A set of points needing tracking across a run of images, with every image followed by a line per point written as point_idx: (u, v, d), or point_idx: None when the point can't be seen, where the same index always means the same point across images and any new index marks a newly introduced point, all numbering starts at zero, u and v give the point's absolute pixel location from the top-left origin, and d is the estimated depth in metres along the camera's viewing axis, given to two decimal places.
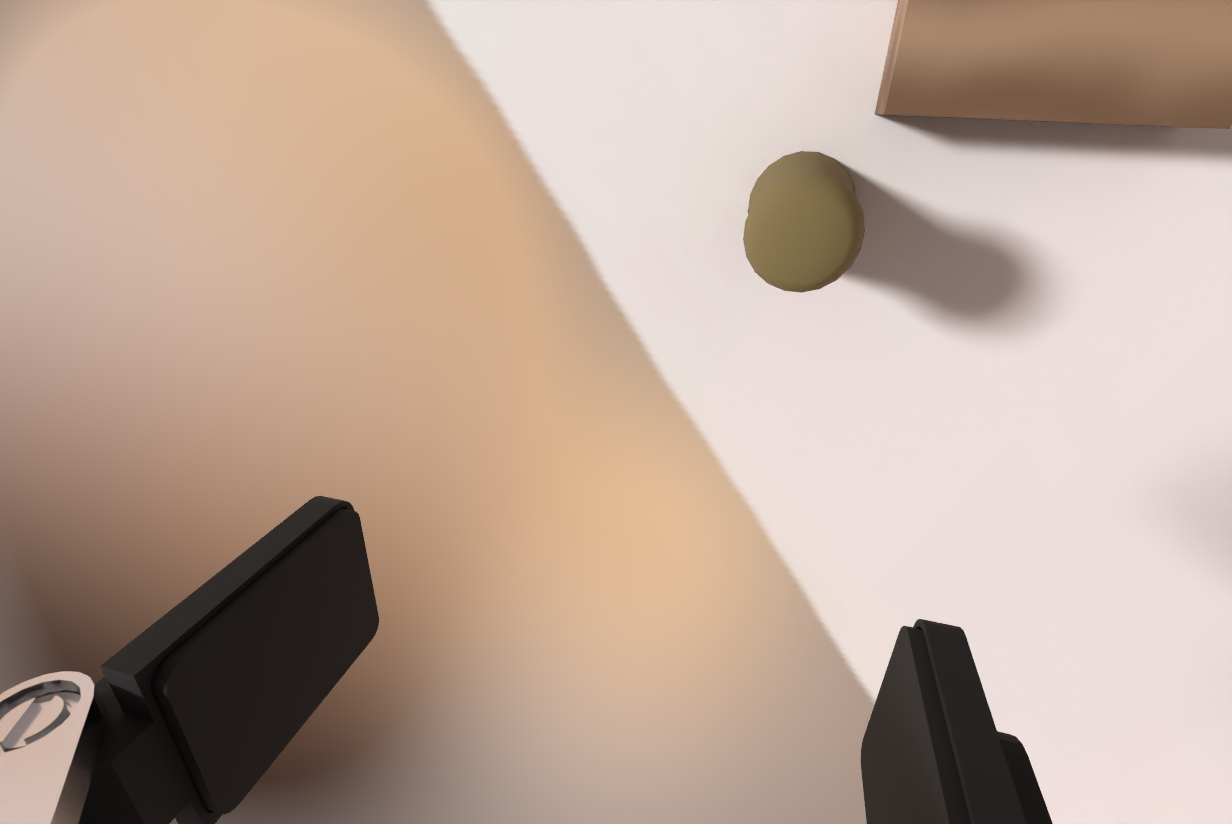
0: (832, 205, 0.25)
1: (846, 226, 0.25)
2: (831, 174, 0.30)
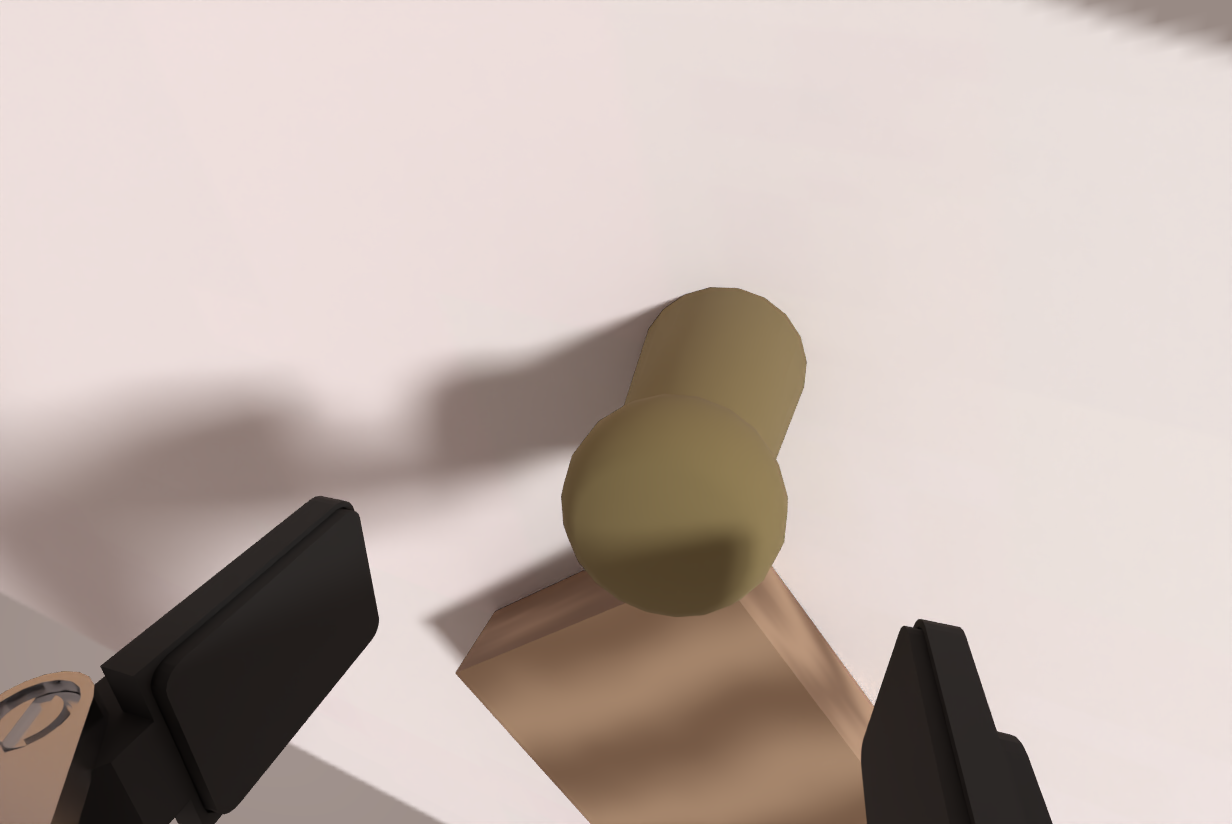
0: (663, 608, 0.14)
1: (618, 593, 0.14)
2: None
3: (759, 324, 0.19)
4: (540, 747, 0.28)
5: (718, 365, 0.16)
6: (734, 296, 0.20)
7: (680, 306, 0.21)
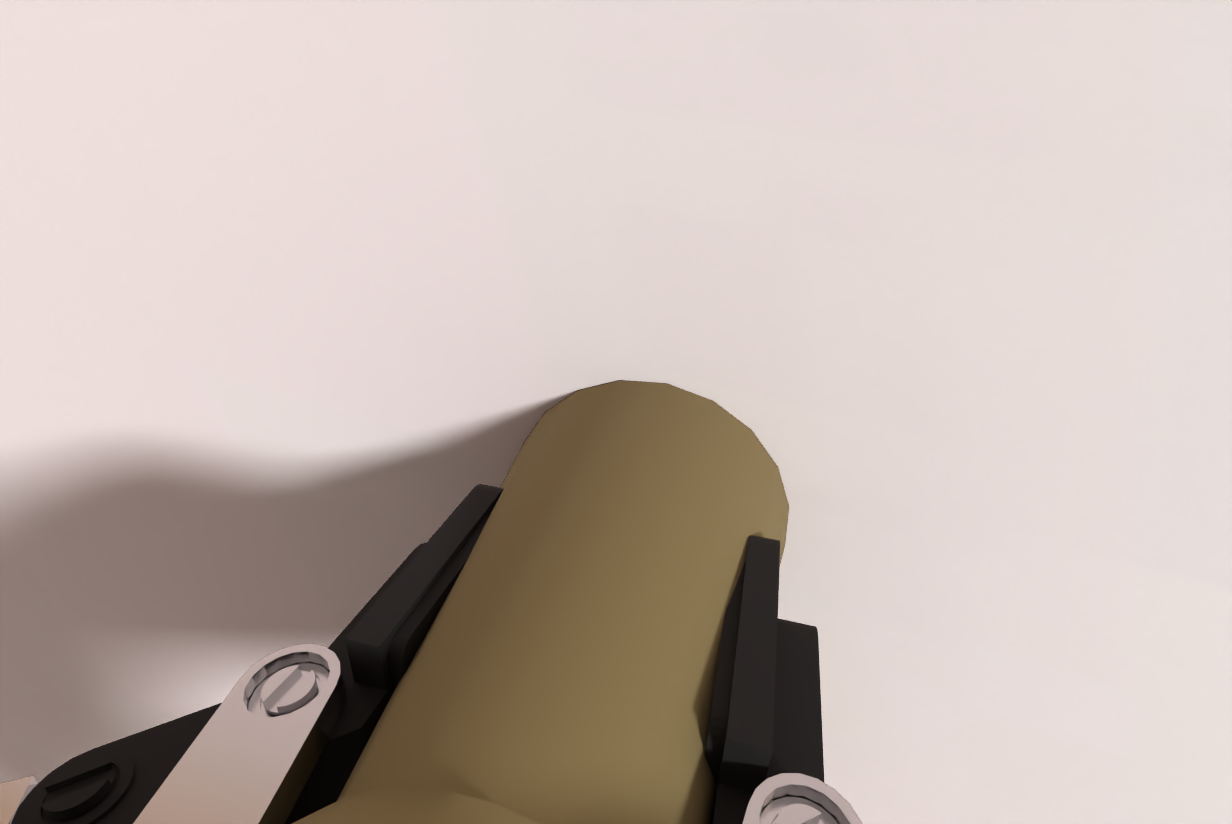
0: None
1: None
2: None
3: (697, 472, 0.10)
4: None
5: (585, 625, 0.07)
6: (657, 404, 0.11)
7: (562, 420, 0.11)
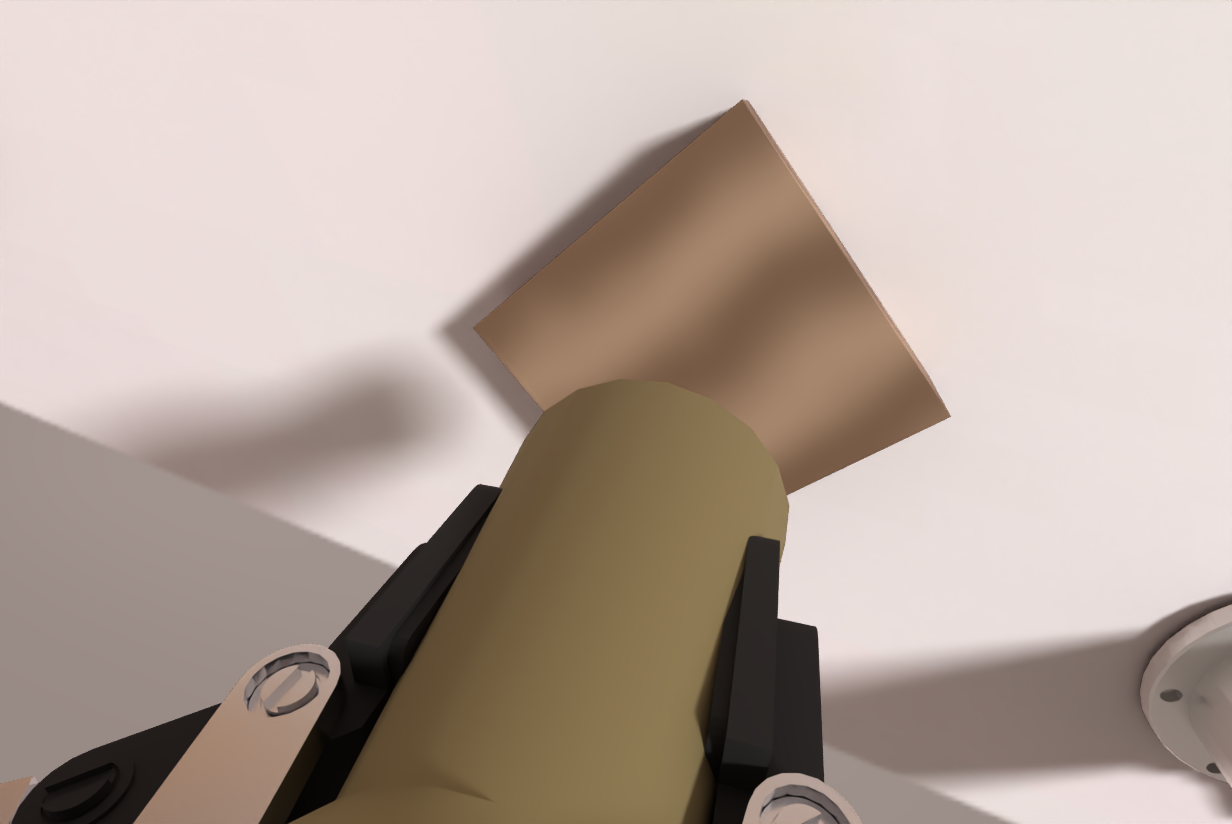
0: None
1: None
2: None
3: (696, 471, 0.10)
4: None
5: (584, 625, 0.07)
6: (657, 402, 0.11)
7: (562, 418, 0.11)
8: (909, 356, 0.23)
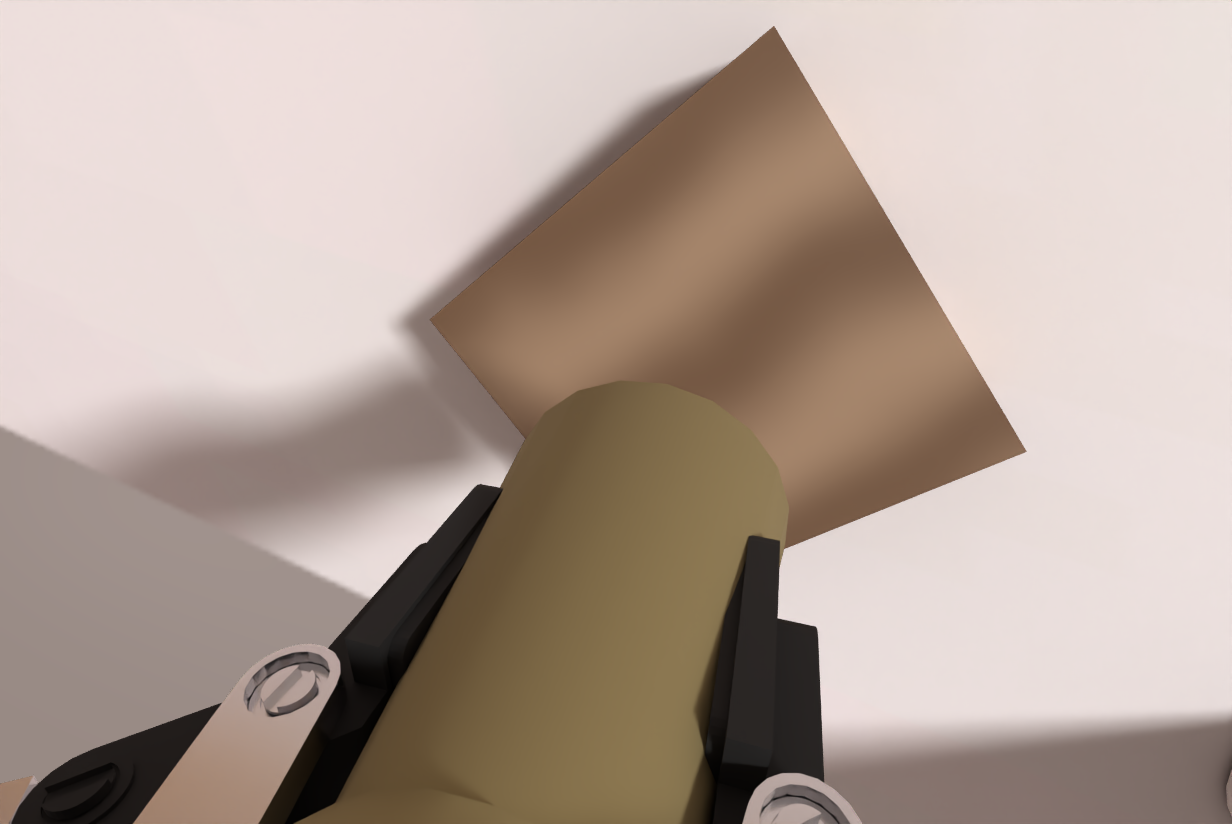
0: None
1: None
2: None
3: (696, 473, 0.10)
4: (538, 420, 0.22)
5: (585, 627, 0.07)
6: (657, 404, 0.11)
7: (562, 420, 0.11)
8: (977, 372, 0.17)
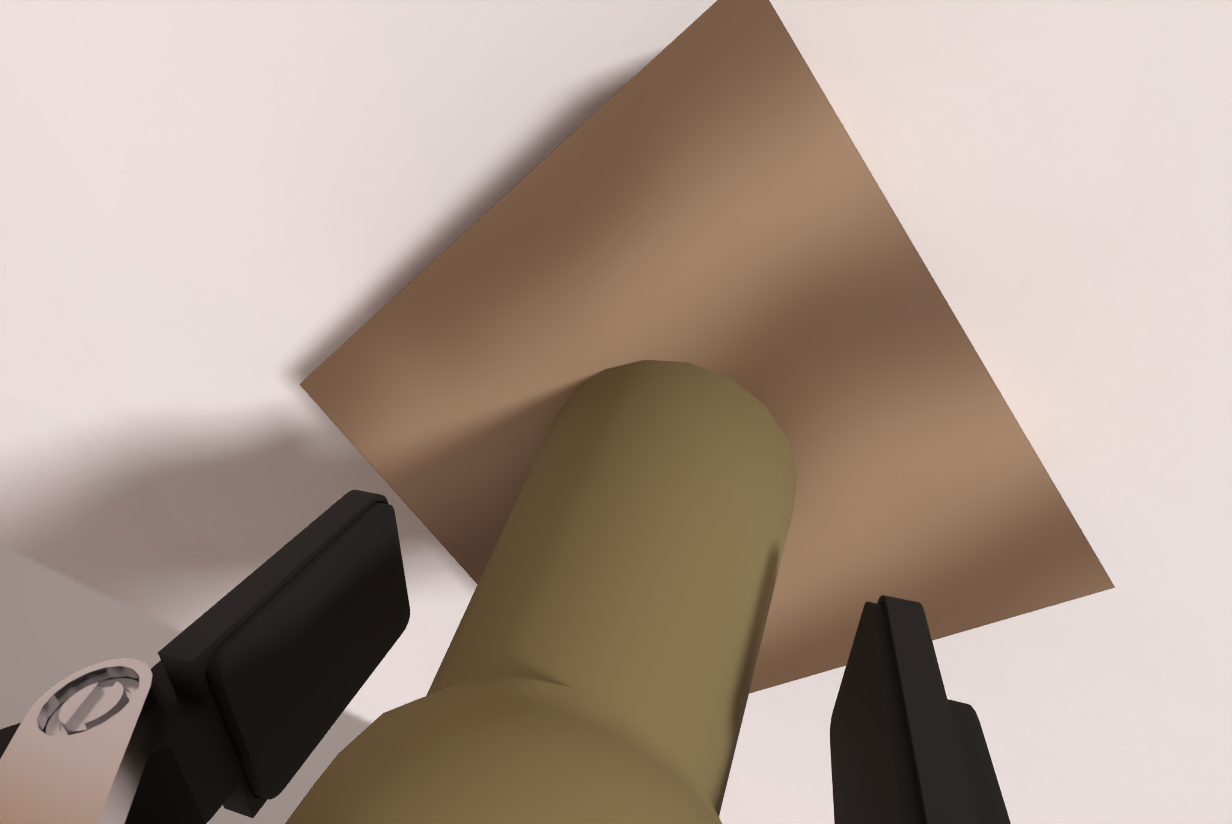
0: None
1: None
2: None
3: (718, 438, 0.11)
4: (448, 514, 0.17)
5: (631, 558, 0.08)
6: (680, 380, 0.12)
7: (594, 394, 0.13)
8: (1049, 480, 0.12)
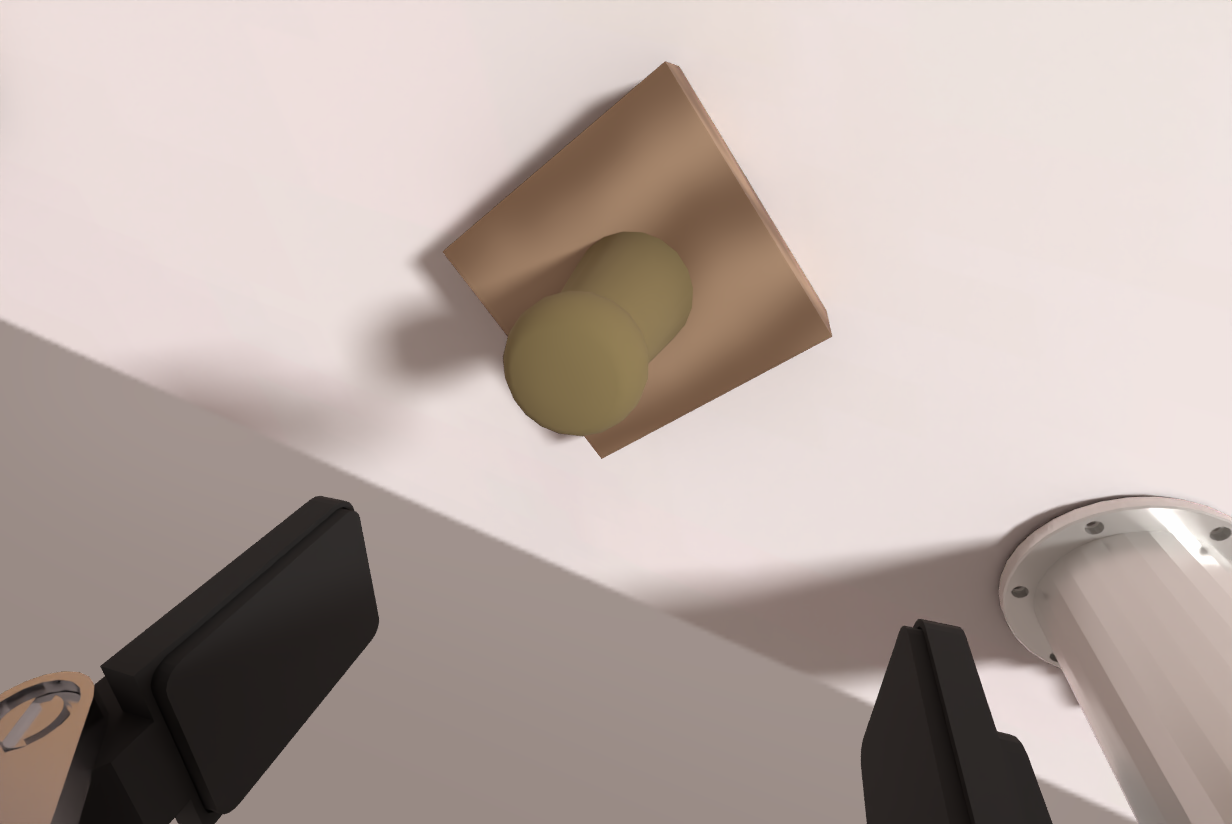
0: (568, 427, 0.21)
1: (539, 418, 0.21)
2: None
3: (652, 256, 0.26)
4: None
5: (614, 279, 0.24)
6: (637, 237, 0.28)
7: (598, 244, 0.28)
8: (798, 283, 0.28)
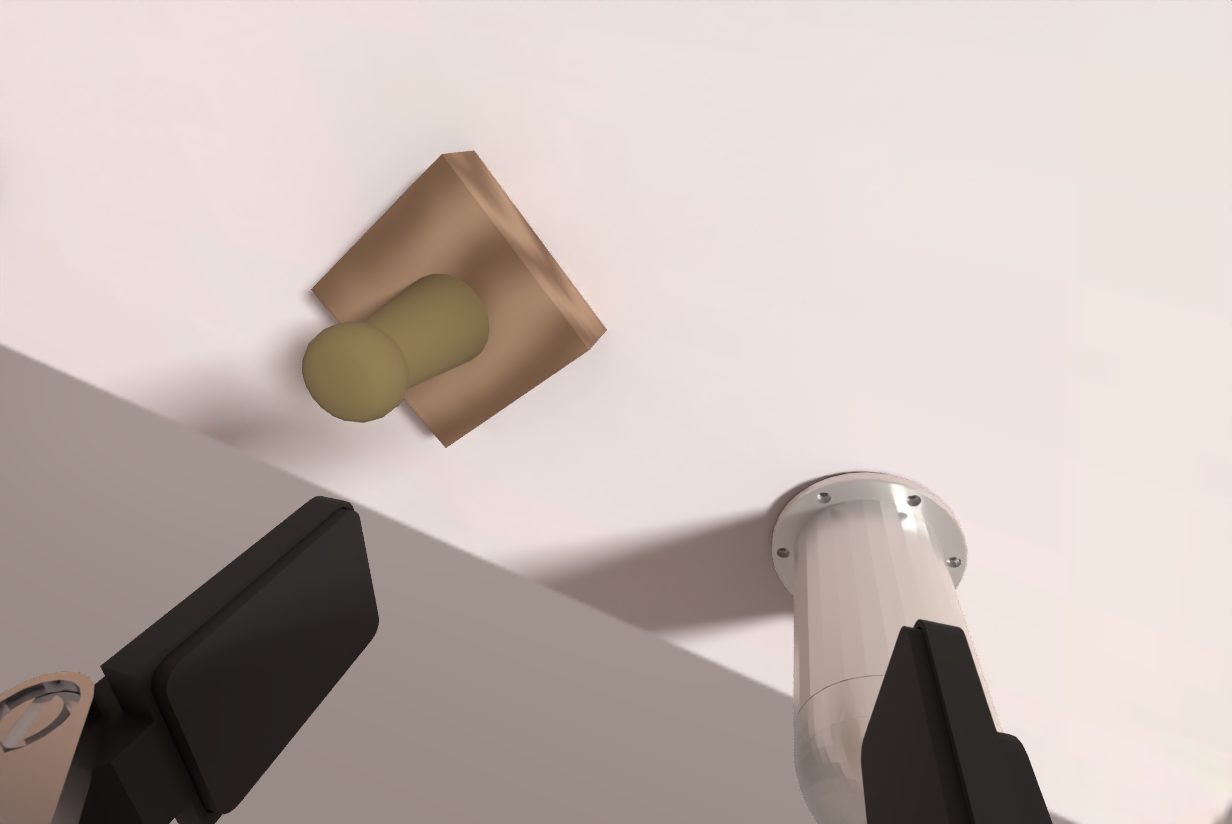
0: (347, 416, 0.31)
1: (328, 410, 0.31)
2: None
3: (443, 293, 0.36)
4: None
5: (398, 311, 0.33)
6: (439, 278, 0.37)
7: (412, 284, 0.37)
8: (558, 310, 0.37)
